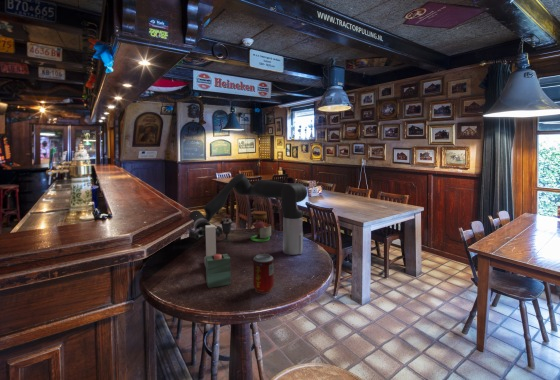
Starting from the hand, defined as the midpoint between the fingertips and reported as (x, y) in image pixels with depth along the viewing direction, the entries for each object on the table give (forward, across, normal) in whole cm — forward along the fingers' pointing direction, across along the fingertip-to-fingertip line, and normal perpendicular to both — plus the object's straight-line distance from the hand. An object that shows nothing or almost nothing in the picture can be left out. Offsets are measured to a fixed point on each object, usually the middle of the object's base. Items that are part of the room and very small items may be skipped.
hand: (208, 236), depth 128 cm
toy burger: (-25, -32, -12) cm, 42 cm away
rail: (+11, 0, -12) cm, 16 cm away
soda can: (+32, -14, -13) cm, 37 cm away
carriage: (+6, 0, -12) cm, 14 cm away
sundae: (-30, -14, -12) cm, 35 cm away
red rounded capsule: (+21, 0, -6) cm, 22 cm away
